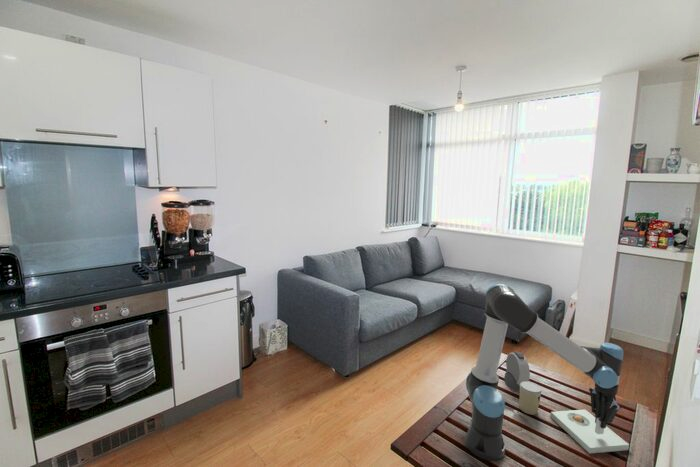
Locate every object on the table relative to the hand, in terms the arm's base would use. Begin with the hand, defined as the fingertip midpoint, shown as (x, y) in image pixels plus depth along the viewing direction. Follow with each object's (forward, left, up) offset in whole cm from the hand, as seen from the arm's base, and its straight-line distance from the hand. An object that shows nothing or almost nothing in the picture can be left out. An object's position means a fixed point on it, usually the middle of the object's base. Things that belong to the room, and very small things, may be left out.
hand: (599, 432), depth 141 cm
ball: (0, +11, -3) cm, 12 cm away
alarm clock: (-9, +43, -5) cm, 44 cm away
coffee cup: (-16, +23, -5) cm, 28 cm away
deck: (0, +6, -4) cm, 7 cm away
